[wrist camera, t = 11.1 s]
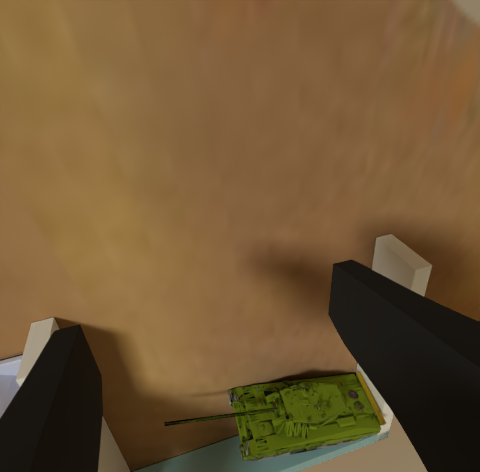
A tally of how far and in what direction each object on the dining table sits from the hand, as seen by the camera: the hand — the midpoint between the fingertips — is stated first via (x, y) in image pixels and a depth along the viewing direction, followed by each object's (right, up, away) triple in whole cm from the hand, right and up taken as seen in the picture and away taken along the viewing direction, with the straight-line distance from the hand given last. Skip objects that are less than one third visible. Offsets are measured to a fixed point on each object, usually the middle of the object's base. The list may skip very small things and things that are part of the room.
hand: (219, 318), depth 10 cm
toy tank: (+3, -9, +20) cm, 22 cm away
